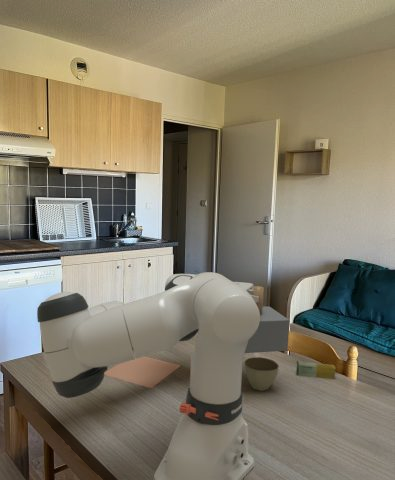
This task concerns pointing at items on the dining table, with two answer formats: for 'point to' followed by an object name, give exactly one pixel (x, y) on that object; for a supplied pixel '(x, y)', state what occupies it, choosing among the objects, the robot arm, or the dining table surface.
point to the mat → (142, 371)
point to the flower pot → (261, 372)
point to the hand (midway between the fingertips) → (260, 297)
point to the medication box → (315, 370)
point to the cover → (268, 329)
